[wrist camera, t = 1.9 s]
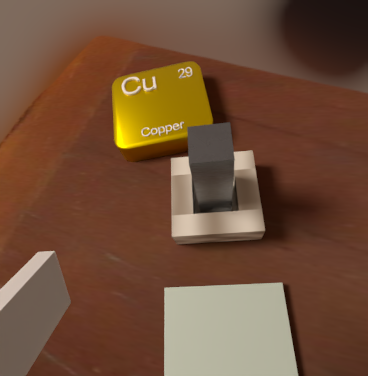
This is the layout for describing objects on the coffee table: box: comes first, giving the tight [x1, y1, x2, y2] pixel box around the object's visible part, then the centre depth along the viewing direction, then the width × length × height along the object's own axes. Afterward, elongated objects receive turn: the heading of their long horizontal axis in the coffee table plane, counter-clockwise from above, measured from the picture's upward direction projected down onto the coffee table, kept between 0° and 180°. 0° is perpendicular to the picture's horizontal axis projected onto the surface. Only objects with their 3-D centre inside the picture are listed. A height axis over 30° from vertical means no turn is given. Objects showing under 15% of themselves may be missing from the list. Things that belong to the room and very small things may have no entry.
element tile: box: [112, 62, 213, 162], centre depth 44 cm, size 15×15×5 cm
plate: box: [164, 283, 298, 376], centre depth 30 cm, size 14×14×1 cm
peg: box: [187, 122, 235, 213], centre depth 31 cm, size 4×4×14 cm
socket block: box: [171, 151, 265, 244], centre depth 36 cm, size 11×11×4 cm
